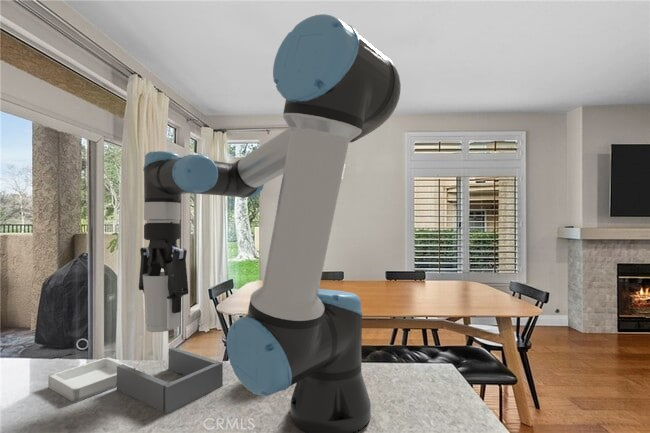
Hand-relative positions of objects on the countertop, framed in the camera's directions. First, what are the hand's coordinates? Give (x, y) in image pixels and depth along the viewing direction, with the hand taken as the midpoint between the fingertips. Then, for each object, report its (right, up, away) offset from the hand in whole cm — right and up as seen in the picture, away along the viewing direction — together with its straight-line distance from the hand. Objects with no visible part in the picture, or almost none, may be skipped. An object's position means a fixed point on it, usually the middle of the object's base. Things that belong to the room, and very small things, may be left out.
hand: (162, 324), depth 78 cm
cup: (0, -1, 0) cm, 1 cm away
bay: (+2, -13, -2) cm, 13 cm away
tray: (-16, -13, 0) cm, 20 cm away
